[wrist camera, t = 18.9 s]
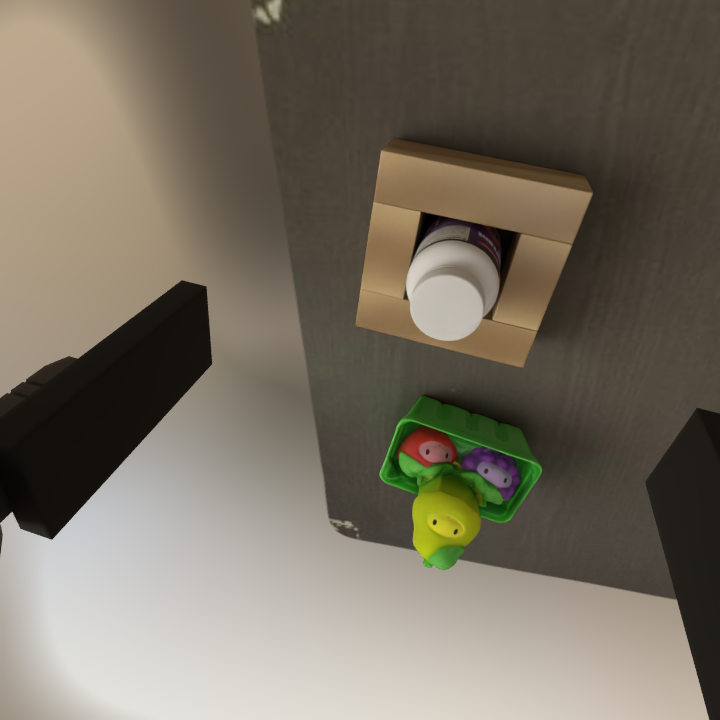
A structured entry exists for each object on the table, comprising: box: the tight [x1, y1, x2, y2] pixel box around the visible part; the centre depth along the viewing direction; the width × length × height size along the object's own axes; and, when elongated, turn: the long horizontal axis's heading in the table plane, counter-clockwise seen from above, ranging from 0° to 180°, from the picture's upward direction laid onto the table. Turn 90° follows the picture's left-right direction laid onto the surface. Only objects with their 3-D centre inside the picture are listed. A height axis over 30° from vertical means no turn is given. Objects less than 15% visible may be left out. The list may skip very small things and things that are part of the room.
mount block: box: [355, 139, 593, 368], centre depth 33 cm, size 12×12×4 cm
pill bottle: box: [406, 216, 501, 341], centre depth 30 cm, size 5×5×10 cm
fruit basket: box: [380, 396, 542, 570], centre depth 39 cm, size 11×9×11 cm
